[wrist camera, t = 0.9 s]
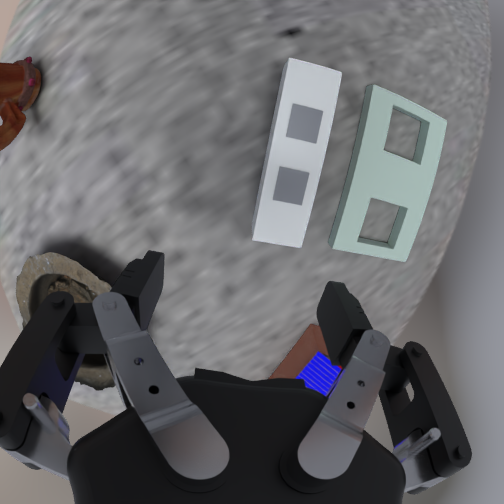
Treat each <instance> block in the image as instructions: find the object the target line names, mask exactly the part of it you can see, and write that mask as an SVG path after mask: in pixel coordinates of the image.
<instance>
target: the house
mask: <svg viewBox="0 0 504 504" xmlns="http://www.w3.org/2000/svg"><path fill="white" fill-rule="evenodd" d="M328 358H329V355H328V351H327V348H326V345H325V341H324V338H323V335H322V332H321V328H320V326H317V325H313V324H310V325H309V327H308V328H307V330H306V331H305V332H304V334H303V335H302V336H301V338H300V339H299V340H298V342H297V343H296V344H295V346H294V347H293V348H292V350H291V351H290V352H289V354H288V355H287V356H286V357H285V359H284V360H283V361H282V363H281V364H280V365H279V366H278V368H277V369H276V370H275V371H274V373H273V374H272V375H271V376H270V378H269V379H274V378H292V379H304V381H305V386H306V387H308V388H311V389H313V390H316V391H318V392H320V393H321V394H323V395H326V394H327V392H328V390H329V389H330V387H331V385H332V384H333V382H334V380H335V379H336V377H337V375H338V374H339V372H340V371H341V369H342V367H341V366H332V365H331V361H330V358H329V359H328Z"/></svg>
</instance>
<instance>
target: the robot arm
mask: <svg viewBox="0 0 504 504" xmlns="http://www.w3.org/2000/svg"><path fill="white" fill-rule="evenodd" d="M163 279H164V253H162V252H156V251H150V250H149V251H148V252H147V253H146V255H145V256H144V258H143V259H135V260H133V261H132V262H130V263H129V264H128V265H127V267H126V268H125V270H124V271H123V272H122V274H121V276H120V277H119V278H118V280H117V281H116V283H115V284H114V286H113V287H112V289H111V290H110V292H105V293H102V294H100V295H98V296H97V297H95V299H94V300H93V302H92V303H75V302H74V298H73V296H72V295H71V294H70V293H68V292H66V291H56V292H53V293H51V294H49V295H48V296H47V297H46V298H45V299H44V300H43V302H42V303H41V304H40V306H39V307H38V309H37V310H36V311H35V313H34V314H33V316H32V317H31V319H30V320H29V322H28V323H27V325H26V326H25V328H24V329H23V331H22V332H21V334H20V335H19V337H18V339H17V340H16V342H15V343H14V345H13V346H12V348H11V350H10V351H9V353H8V355H7V357H6V358H5V360H4V362H3V364H2V365H1V367H0V447H1V448H2V449H4V450H5V451H6V452H7V453H9V454H10V455H11V456H13V457H14V458H15V459H16V460H18V461H20V462H22V463H23V464H25V465H26V466H28V467H29V468H31V469H35V470H38V469H44V470H46V471H48V472H51V473H53V474H55V475H57V476H60V477H62V478H65V479H67V480H69V481H70V484H71V487H72V491H73V494H74V501H75V504H402V498H403V494H404V492H408V493H409V494H418V493H420V492H422V491H424V490H426V489H428V488H430V487H432V486H433V485H435V484H437V483H439V482H441V481H443V480H444V479H446V478H448V477H449V476H451V475H453V474H454V473H456V472H458V471H459V470H461V469H462V468H464V467H465V466H467V465H468V464H469V462H470V460H471V456H472V452H471V448H470V445H469V442H468V439H467V437H466V434H465V432H464V429H463V427H462V424H461V422H460V419H459V417H458V414H457V412H456V410H455V408H454V405H453V403H452V401H451V399H450V396H449V394H448V392H447V390H446V388H445V386H444V384H443V382H442V380H441V378H440V376H439V373H438V372H437V370H436V368H435V366H434V364H433V362H432V360H431V358H430V356H429V354H428V352H427V351H426V349H425V348H424V347H423V346H422V345H420V344H419V343H416V342H412V341H410V342H407V343H406V344H405V346H404V347H403V349H401V348H398V347H394V346H391V345H390V341H389V339H388V338H387V337H386V336H385V335H384V334H383V333H381V332H379V331H377V330H373V328H372V326H371V324H370V322H369V320H368V318H367V316H366V314H364V311H363V309H362V308H361V305H360V303H359V301H358V300H357V299H356V298H355V297H354V296H353V295H352V294H350V293H349V291H348V290H347V288H346V286H345V284H344V283H341V282H334V281H329V282H328V283H327V285H326V287H325V290H324V292H323V295H322V297H321V299H320V302H319V304H318V307H317V319H318V322H319V325H320V328H321V332H322V335H323V338H324V341H325V345H326V348H327V351H328V355H329V358H330V361H331V365H332V366H341V367H342V369H341V371H340V372H339V374H338V375H337V377H336V379H335V380H334V382H333V384H332V385H331V387H330V389H329V390H328V392H327V394H326V395H323V394H321V393H320V392H318V391H316V390H313V389H311V388H308V387H306V386H305V381H304V379H292V378H274V379H266V380H259V381H249V380H246V379H243V378H239V377H236V376H233V375H230V374H227V373H224V372H219V371H212V370H205V369H199V368H195V374H194V376H185V377H180V378H176V379H175V377H174V376H173V374H172V373H171V371H170V369H169V368H168V366H167V365H166V363H165V361H164V360H163V358H162V356H161V355H160V353H159V351H158V350H157V348H156V346H155V344H154V343H153V341H152V339H151V337H150V335H149V334H148V332H147V331H146V329H147V326H148V324H149V321H150V319H151V316H152V314H153V311H154V309H155V307H156V304H157V302H158V299H159V297H160V295H161V292H162V288H163ZM85 354H104V357H105V360H106V362H107V365H108V367H109V370H110V372H111V375H112V377H113V380H114V382H115V385H116V387H117V389H118V392H119V395H120V397H121V400H122V402H123V404H124V406H125V409H126V410H125V411H123V412H122V413H120V414H118V415H117V416H115V417H114V418H112V419H111V420H109V421H108V422H106V423H104V424H103V425H101V426H100V427H98V428H97V429H95V430H93V431H92V432H90V433H88V434H87V435H85V436H83V437H82V438H80V439H79V440H78V441H77V442H76V443H75V444H74V445H73V446H71V445H70V442H69V431H70V430H69V425H68V422H67V421H66V419H65V418H64V416H63V415H62V413H63V410H64V407H65V405H66V402H67V399H68V396H69V393H70V391H71V388H72V385H73V383H74V380H75V378H76V375H77V373H78V370H79V368H80V365H81V363H82V361H83V358H84V356H85ZM409 383H411V385H412V388H413V390H414V399H413V400H412V402H411V401H410V399H409V396H408V393H407V391H406V388H405V387H406V386H407V385H408V384H409ZM378 394H379V397H380V400H381V403H382V407H383V410H384V413H385V417H386V420H387V424H388V428H389V431H390V435H391V438H392V442H393V446H394V449H393V452H392V453H391V452H390V451H389V450H387V449H386V448H385V447H383V446H382V445H381V444H380V443H379V442H378V441H377V440H375V439H374V438H373V437H372V436H371V435H369V434H368V433H367V432H366V431H365V430H364V427H365V425H366V423H367V420H368V418H369V416H370V413H371V411H372V408H373V406H374V403H375V401H376V398H377V396H378Z"/></svg>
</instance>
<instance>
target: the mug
mask: <svg viewBox="0 0 504 504" xmlns="http://www.w3.org/2000/svg"><path fill="white" fill-rule="evenodd" d="M31 62H32V58H31V57H27V58H26V59H25V60H19V61H16V62H14V63H13V64H12V63H0V116H1V118H2V120H3V124H2V125H1V126H0V151H1V150H2V149H4V148H5V147H7V146H8V145H9V144H10V143H11V142H12V141H13V140H14V138H15V137H16V136H17V135H18V134H19V132H20V131H21V129H22V128H23V125H24V123H25V120H26V116H25V115H24V114H23V113H22V112H21V111H26V110H27V109H28V108H30V106H31V105H32V104H33V102H34V100H35V99H36V97H37V95H38V93H39V89H40V86H41V74H40V71H39V70H38V69H37V68H34V66H33V64H32V63H31Z"/></svg>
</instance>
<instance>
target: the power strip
mask: <svg viewBox="0 0 504 504" xmlns="http://www.w3.org/2000/svg"><path fill="white" fill-rule="evenodd" d="M341 77H342V72H339V71H336V70H333V69H330V68H327V67H324V66H320V65H317V64H313V63H309V62H306V61H302V60H298V59H294V58H289V59H288V60H287V62H286V64H285V65H284V67H283V72H282V76H281V81H280V86H279V91H278V96H277V101H276V106H275V111H274V116H273V121H272V125H271V130H270V135H269V140H268V145H267V150H266V155H265V160H264V165H263V170H262V175H261V180H260V185H259V190H258V195H257V201H256V206H255V211H254V216H253V221H252V240H254V241H260V242H267V243H273V244H279V245H285V246H291V247H297V248H301V247H302V243H303V240H304V236H305V232H306V229H307V225H308V221H309V217H310V214H311V210H312V206H313V202H314V198H315V194H316V190H317V186H318V182H319V178H320V174H321V170H322V166H323V162H324V157H325V153H326V149H327V144H328V140H329V135H330V131H331V126H332V122H333V117H334V112H335V107H336V102H337V97H338V92H339V87H340V82H341Z"/></svg>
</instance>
